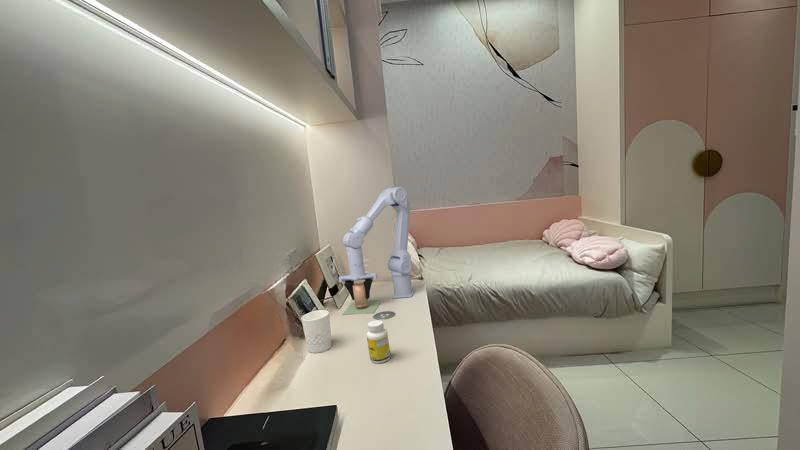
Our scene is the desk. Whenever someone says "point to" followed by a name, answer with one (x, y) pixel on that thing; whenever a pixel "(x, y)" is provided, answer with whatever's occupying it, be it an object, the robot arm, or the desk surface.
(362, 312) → the mat
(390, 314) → the coaster
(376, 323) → the supplement bottle
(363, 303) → the terracotta cup
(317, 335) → the white cup
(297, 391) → the desk surface
